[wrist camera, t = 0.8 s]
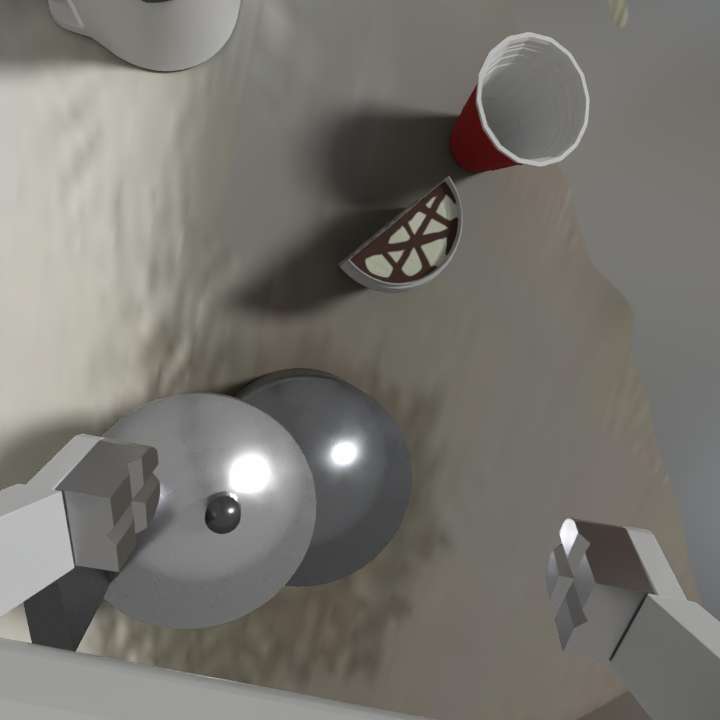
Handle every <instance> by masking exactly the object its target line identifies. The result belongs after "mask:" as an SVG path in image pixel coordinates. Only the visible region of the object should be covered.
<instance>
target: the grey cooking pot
mask: <svg viewBox="0 0 720 720" xmlns="http://www.w3.org/2000/svg"><path fill="white" fill-rule="evenodd" d="M234 397H236V398H239V399H242V400H245V401H247V402H249V403H251V404H254V405H256V406H258V407H259V408H261V409H263V410H264V411H266V412H268V413H269V414H270V415H272V416H273V417H274V418H275V419H277V420H278V421H279V422H280V423H281V424H282V425H283V426H284V427H285V428H286V429H287V430H288V431H289V432H290V433H291V435H292V436H293V438H294V439H295V440H296V442H297V443H298V444H299V446H300V448H301V450H302V452H303V454H304V456H305V458H306V460H307V462H308V465H309V468H310V471H311V473H312V477H313V481H314V486H315V492H316V520H315V525H314V531H313V535H312V538H311V541H310V544H309V547H308V549H307V552H306V554H305V556H304V558H303V560H302V562H301V564H300V565H299V567H298V568H297V570H296V571H295V573H294V574H293V576H292V577H291V578H290V579H289V581H288V582H287V583H286V584H285V586H297V587H300V586H315V585H320V584H326V583H329V582H333V581H336V580H339V579H341V578H343V577H346V576H348V575H350V574H352V573H354V572H356V571H357V570H359V569H361V568H362V567H364V566H365V565H366V564H368V563H369V562H370V561H371V560H373V559H374V558H375V557H376V556H377V555H378V554H379V553H380V552H381V551H382V550H383V549H384V548H385V547H386V545H387V544H388V543H389V542H390V540H391V539H392V538H393V536H394V534H395V533H396V531H397V530H398V528H399V526H400V524H401V522H402V520H403V517H404V515H405V512H406V509H407V506H408V503H409V498H410V492H411V482H412V471H411V461H410V456H409V451H408V448H407V445H406V442H405V439H404V437H403V435H402V433H401V431H400V429H399V427H398V425H397V424H396V422H395V421H394V420H393V418H392V417H391V415H390V414H389V413H388V412H387V411H386V410H385V409H384V408H383V406H381V405H380V404H379V403H378V402H377V401H376V400H374V399H373V398H372V397H370V396H369V395H367V394H366V393H364V392H362V391H361V390H359V389H357V388H356V387H354V386H352V385H351V384H349V383H347V382H346V381H344V380H342V379H341V378H339V377H336V376H334V375H332V374H330V373H326V372H323V371H320V370H314V369H305V368H294V369H285V370H280V371H276V372H273V373H270V374H267V375H264V376H262V377H260V378H258V379H256V380H255V381H253V382H251V383H250V384H248V385H247V386H245V387H244V388H243V389H242V390H240V391H239V392H238V393H237V394H236V395H235V396H234Z"/></svg>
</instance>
